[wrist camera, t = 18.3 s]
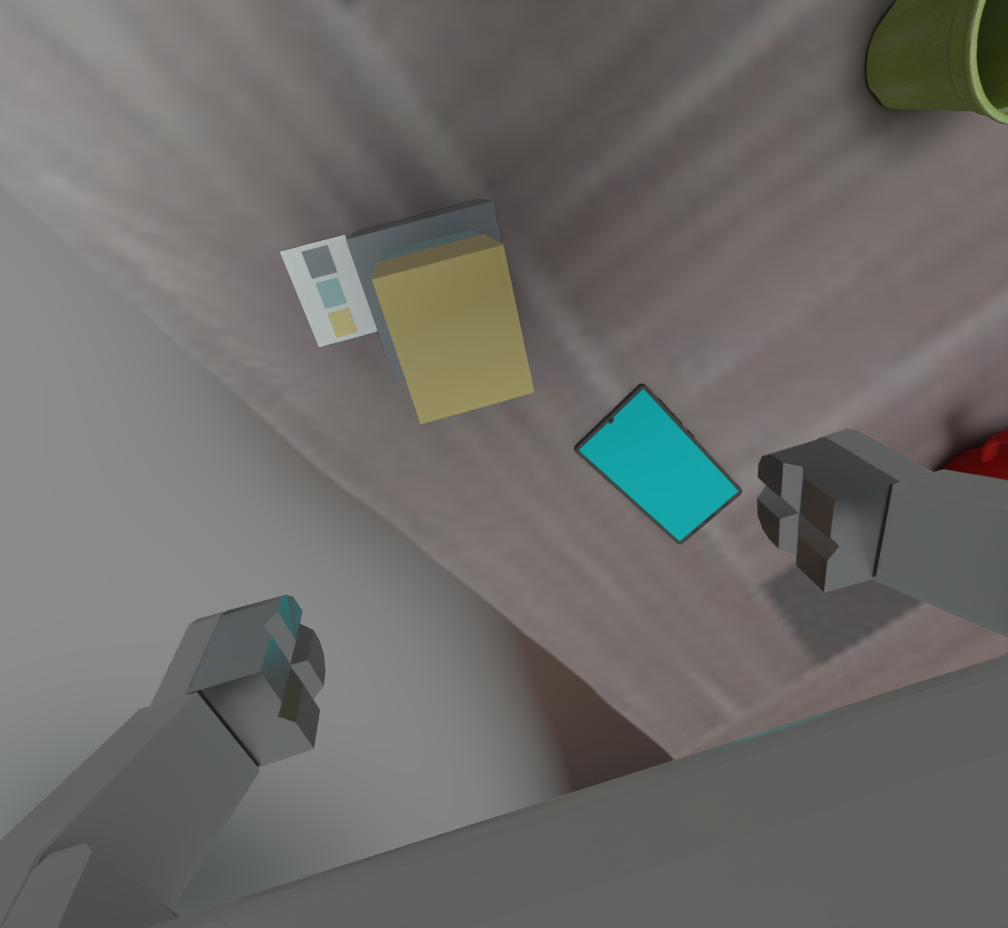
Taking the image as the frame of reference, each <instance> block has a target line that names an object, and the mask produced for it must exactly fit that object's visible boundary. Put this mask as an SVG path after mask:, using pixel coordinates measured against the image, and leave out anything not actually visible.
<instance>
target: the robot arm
mask: <svg viewBox="0 0 1008 928" xmlns="http://www.w3.org/2000/svg"><path fill="white" fill-rule="evenodd" d="M758 478H759V479H760V480H761V481H762V482H763V483H764V484H765V485H766V486H765V487H764V489H763V490H762V492H761V493H760V495H759V496H758V498H757V515H758V518H759V521H760V523H761V526H762V529H763V531H764V532H765V534H766V535H767V537H768V538H769V540H770V541H771V542H772V543H773V544H774V545H775V546H776V547H777V548H778V549H780V550H783V551H786V552H789V553H792V554H795V555H796V566H797V567H798V568H799V569H800V570H801V571H802V572H803V573H804V574H805V575H806V576H807V577H808V578H809V579H810V580H811V581H812V582H814V583H815V584H816V585H817V586H818V587H819V588H820V589H821V590H822V591H823V592H828V591H831V590H835V589H839V588H842V587H846V586H850V585H853V584H857V583H860V582H864V581H868V580H871V579H875V578H876V579H875V581H876V582H879V583H881V584H883V585H886V586H888V587H890V588H893V589H895V590H898V591H900V592H902V593H905V594H907V595H909V596H912V597H914V598H916V599H919V600H921V601H924V602H926V603H928V604H931V605H933V606H935V607H938V608H940V609H942V610H945V611H947V612H950V613H952V614H954V615H957V616H959V617H961V618H964V619H966V620H968V621H971V622H973V623H976V624H978V625H980V626H983V627H985V628H987V629H990V630H992V631H994V632H997V633H999V634H1002V635H1004V636H1006V637H1008V480H1004V479H998V478H992V477H986V476H980V475H974V474H968V473H962V472H956V471H950V470H945V469H943V470H939V471H936V472H933V471H931V470H929V469H928V468H926V467H924V466H922V465H920V464H918V463H916V462H915V461H913V460H911V459H909V458H907V457H905V456H903V455H902V454H900V453H898V452H896V451H894V450H892V449H890V448H889V447H887V446H885V445H883V444H881V443H879V442H877V441H876V440H874V439H872V438H870V437H868V436H866V435H864V434H862V433H861V432H859V431H857V430H849V429H845V430H842V431H839V432H836V433H833V434H830V435H826V436H823V437H820V438H818V439H817V440H814V441H811V442H807V443H804V444H801V445H797V446H794V447H790V448H787V449H784V450H780V451H777V452H774V453H770V454H767V455H764V456H762V457H761V459H760V462H759V464H758ZM301 616H302V610H301V608H300V607H299V605H298V603H297V602H296V601H295V599H294V597H291V596H289V595H283V596H279V597H276V598H272V599H268V600H264V601H261V602H257V603H253V604H250V605H246V606H242V607H238V608H235V609H231V610H228V611H226V612H221V613H217V614H214V615H210V616H207V617H203V618H200V619H197V620H196V621H194V622H193V623H191V624H190V625H189V626H188V628H187V630H186V632H185V634H184V636H183V638H182V640H181V642H180V644H179V647H178V649H177V651H176V653H175V655H174V657H173V660H172V661H171V663H170V665H169V667H168V670H167V671H166V674H165V676H164V678H163V680H162V682H161V684H160V686H159V688H158V690H157V692H156V694H155V696H154V699H153V701H152V703H151V705H150V706H149V707H145V708H142V709H139V710H138V711H137V712H136V713H135V714H134V715H133V716H132V717H131V718H130V719H129V720H128V721H126V722H125V723H124V724H123V725H122V726H121V727H120V728H119V729H118V730H117V731H116V732H115V733H114V734H113V735H112V736H111V737H109V738H108V739H107V740H106V741H105V742H104V743H103V744H102V745H101V746H100V747H99V748H98V749H97V750H96V751H95V752H94V753H92V754H91V755H90V756H89V757H88V758H87V759H86V760H85V761H84V762H83V763H82V764H81V765H80V766H79V767H78V768H77V769H76V770H74V771H73V772H72V773H71V774H70V775H69V776H68V777H67V778H66V779H65V780H64V781H63V782H62V783H61V784H60V785H59V786H57V788H55V789H54V790H53V791H52V792H51V793H50V794H49V795H48V796H47V797H46V798H45V799H44V800H43V801H42V802H40V804H39V805H37V806H36V807H35V808H34V809H33V810H32V811H31V812H30V813H29V814H28V815H27V816H26V817H25V818H24V819H23V820H21V822H20V823H18V824H17V825H16V826H15V827H14V828H13V829H12V830H11V831H10V832H9V833H8V834H7V835H6V836H4V837H3V838H2V839H1V840H0V928H1008V654H1007V655H1004V656H1000V657H997V658H994V659H991V660H988V661H985V662H981V663H978V664H975V665H972V666H969V667H966V668H963V669H959V670H956V671H953V672H950V673H947V674H944V675H940V676H937V677H934V678H931V679H928V680H925V681H922V682H918V683H915V684H912V685H909V686H906V687H903V688H900V689H896V690H893V691H890V692H887V693H884V694H881V695H878V696H875V697H871V698H868V699H865V700H862V701H859V702H856V703H853V704H849V705H846V706H843V707H840V708H837V709H834V710H831V711H827V712H824V713H821V714H818V715H815V716H812V717H809V718H806V719H802V720H799V721H796V722H793V723H790V724H787V725H784V726H780V727H777V728H774V729H771V730H768V731H765V732H762V733H758V734H755V735H752V736H749V737H746V738H743V739H740V740H737V741H733V742H730V743H727V744H724V745H721V746H718V747H715V748H711V749H708V750H705V751H702V752H699V753H696V754H693V755H689V756H686V757H683V758H680V759H677V760H674V761H671V762H668V763H664V764H661V765H658V766H655V767H652V768H649V769H645V770H642V771H639V772H636V773H633V774H629V775H626V776H623V777H620V778H617V779H614V780H610V781H608V782H604V783H601V784H598V785H595V786H591V787H588V788H585V789H582V790H579V791H576V792H573V793H570V794H566V795H563V796H560V797H557V798H554V799H550V800H548V801H544V802H541V803H538V804H535V805H532V806H529V807H525V808H522V809H519V810H516V811H512V812H509V813H506V814H503V815H500V816H497V817H494V818H490V819H487V820H484V821H481V822H478V823H474V824H472V825H468V826H465V827H462V828H459V829H456V830H453V831H450V832H446V833H443V834H440V835H437V836H434V837H430V838H427V839H424V840H421V841H418V842H415V843H411V844H408V845H405V846H402V847H399V848H396V849H393V850H390V851H386V852H383V853H380V854H377V855H374V856H370V857H367V858H364V859H361V860H358V861H355V862H352V863H348V864H345V865H342V866H340V867H336V868H333V869H329V870H327V871H323V872H320V873H317V874H314V875H311V876H308V877H305V878H301V879H298V880H295V881H292V882H288V883H286V884H282V885H279V886H276V887H273V888H270V889H267V890H263V891H260V892H257V893H254V894H251V895H248V896H245V897H241V898H238V899H235V900H232V901H229V902H225V903H222V904H219V905H216V906H213V907H210V908H207V909H203V910H200V911H197V912H194V913H191V914H188V915H184V916H182V917H181V916H179V915H178V914H177V913H175V912H174V911H172V907H173V906H174V904H175V903H176V901H177V899H178V898H179V896H180V895H181V893H182V892H183V890H184V889H185V887H186V885H187V884H188V882H189V881H190V879H191V878H192V876H193V874H194V873H195V871H196V870H197V868H198V867H199V865H200V863H201V862H202V860H203V859H204V857H205V856H206V854H207V853H208V851H209V849H210V848H211V846H212V845H213V843H214V841H215V840H216V838H217V837H218V835H219V834H220V832H221V831H222V829H223V828H224V826H225V824H226V823H227V821H228V820H229V818H230V816H231V815H232V813H233V812H234V810H235V809H236V807H237V806H238V804H239V802H240V801H241V799H242V798H243V796H244V794H245V793H246V791H247V790H248V788H249V787H250V785H251V784H252V782H253V781H254V779H255V777H256V776H257V774H258V773H259V771H260V769H259V768H258V767H261V766H264V765H267V764H270V763H273V762H276V761H279V760H282V759H285V758H288V757H291V756H294V755H297V754H300V753H303V752H306V751H309V750H312V749H314V745H315V739H316V732H317V725H318V720H319V713H320V709H319V708H318V706H317V705H316V703H315V702H314V700H313V699H314V698H315V697H316V695H317V694H318V693H319V691H320V690H321V689H322V687H323V686H324V678H325V662H324V653H323V650H322V647H321V644H320V641H319V639H318V637H317V635H316V634H315V632H314V630H312V629H310V628H308V627H306V626H304V625H302V624H300V620H301Z"/></svg>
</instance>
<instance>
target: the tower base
mask: <svg viewBox="0 0 1008 928" xmlns="http://www.w3.org/2000/svg"><path fill="white" fill-rule="evenodd" d="M469 229H472V230H474V231H476V232H477V233H479V234H481V235H482V234H486V235H487V236H489V237H491V238H493V239H494V240H496V241H498V242H500V243H501V244H502V240H501V235H500V230H499V225H498V221H497V216H496V211H495V206H494V202H493V201H490V200H484V199H479V200H475V201H471V202H467V203H463V204H460V205H456V206H452V207H448V208H444V209H441V210H437V211H433V212H429V213H425V214H421V215H418V216H414V217H410V218H406V219H402V220H399V221H395V222H391V223H387V224H383V225H380V226H376V227H372V228H368V229H364V230H360V231H357V232H353V233H352V234H351V235H350V236H349V237H348V238H347V239H346V242H347V245H348V248H349V251H350V253H351V256H352V259H353V262H354V265H355V268H356V271H357V274H358V276H359V279H360V282H361V285H362V288H363V291H364V294H365V297H366V299H367V302H368V305H369V308H370V311H371V314H372V317H373V320H374V322H375V325H376V328H377V331H378V334H379V337H380V340H381V342H382V345H383V348H384V351H385V354H386V357H387V360H388V363H389V365H390V368H391V371H392V374H393V377H394V380H395V381H398V380H401V379H405V376H404V373H403V371H402V368H401V365H400V362H399V359H398V356H397V353H396V350H395V347H394V344H393V341H392V338H391V335H390V332H389V329H388V326H387V323H386V320H385V317H384V314H383V311H382V308H381V305H380V302H379V299H378V296H377V293H376V290H375V287H374V284H373V282H372V278H373V274H374V271H375V268H376V264H377V262H378V261H379V257H380V254H381V253H382V252H386V251H390V250H393V249H397V248H401V247H405V246H409V245H412V244H416V243H420V242H424V241H428V240H431V239H435V238H439V237H443V236H446V235H450V234H454V233H458V232H462V231H465V230H469Z"/></svg>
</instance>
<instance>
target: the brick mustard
mask: <svg viewBox="0 0 1008 928" xmlns="http://www.w3.org/2000/svg"><path fill="white" fill-rule="evenodd" d="M372 282H373V284H374V287H375V290H376V293H377V296H378V299H379V302H380V305H381V308H382V311H383V314H384V317H385V320H386V323H387V326H388V329H389V332H390V335H391V338H392V341H393V344H394V347H395V350H396V353H397V356H398V359H399V362H400V365H401V368H402V371H403V373H404V376H405V379H406V382H407V385H408V388H409V391H410V394H411V397H412V400H413V403H414V406H415V409H416V412H417V415H418V418H419V421H420V424H424V423H428V422H431V421H435V420H439V419H442V418H446V417H449V416H453V415H456V414H460V413H464V412H467V411H471V410H474V409H478V408H481V407H485V406H488V405H492V404H496V403H499V402H503V401H506V400H510V399H513V398H517V397H520V396H524V395H528V394H531V393H534V388H533V383H532V379H531V374H530V369H529V364H528V359H527V355H526V350H525V345H524V340H523V336H522V331H521V326H520V321H519V316H518V312H517V307H516V302H515V297H514V292H513V288H512V283H511V278H510V273H509V269H508V264H507V259H506V254H505V249H504V245H503V244H501V243H500V242H498V241H496V240H494V239H493V238H491V237H489V236H487V235H486V234H482V235H478V236H475V237H471V238H467V239H463V240H460V241H456V242H452V243H448V244H444V245H441V246H437V247H433V248H429V249H426V250H422V251H418V252H414V253H411V254H407V255H403V256H399V257H396V258H392V259H388V260H384V261H381V262H377V264H376V268H375V271H374V274H373V278H372Z"/></svg>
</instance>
